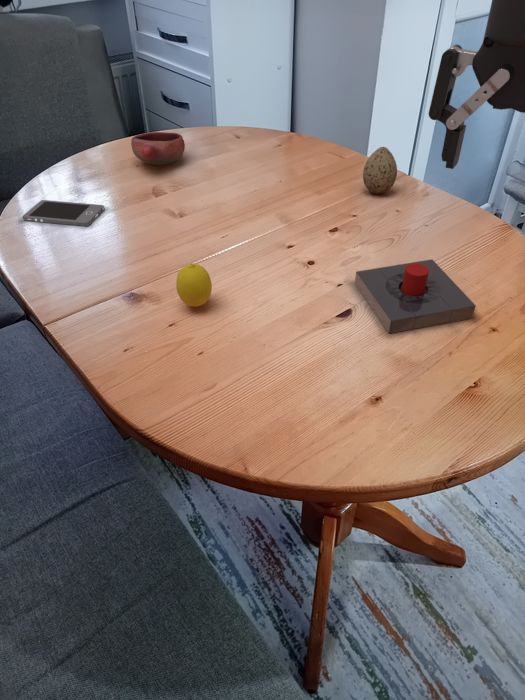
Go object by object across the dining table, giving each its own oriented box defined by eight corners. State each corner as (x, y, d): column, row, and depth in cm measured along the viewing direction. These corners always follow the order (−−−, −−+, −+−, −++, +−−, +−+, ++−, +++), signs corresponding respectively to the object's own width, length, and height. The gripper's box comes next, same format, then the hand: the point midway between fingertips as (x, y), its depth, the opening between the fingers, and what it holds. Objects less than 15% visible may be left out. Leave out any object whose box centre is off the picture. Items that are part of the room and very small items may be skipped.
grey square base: (429, 271, 94) (432, 259, 92) (472, 318, 84) (476, 305, 82) (354, 283, 91) (355, 271, 90) (388, 333, 81) (391, 320, 80)
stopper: (416, 292, 89) (422, 261, 85) (426, 305, 86) (433, 273, 83) (396, 296, 88) (401, 265, 85) (405, 308, 86) (411, 277, 82)
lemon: (173, 312, 87) (166, 269, 81) (189, 293, 90) (184, 252, 85) (204, 319, 85) (199, 276, 80) (219, 300, 89) (215, 258, 83)
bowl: (129, 159, 136) (123, 127, 130) (177, 150, 139) (173, 118, 134) (146, 183, 124) (140, 148, 119) (198, 172, 128) (195, 139, 123)
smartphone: (21, 220, 112) (20, 217, 111) (42, 202, 118) (41, 199, 117) (87, 226, 109) (86, 223, 108) (105, 208, 115) (104, 205, 114)
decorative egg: (392, 185, 120) (399, 141, 114) (395, 200, 115) (402, 153, 109) (360, 185, 121) (364, 140, 115) (361, 199, 116) (366, 153, 109)
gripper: (658, -32, 41) (580, 174, 52) (469, -38, 47) (434, 148, 57) (653, -19, 36) (569, 205, 47) (444, -28, 42) (411, 174, 53)
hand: (495, 173), depth 52 cm, fingers open, 8 cm apart
